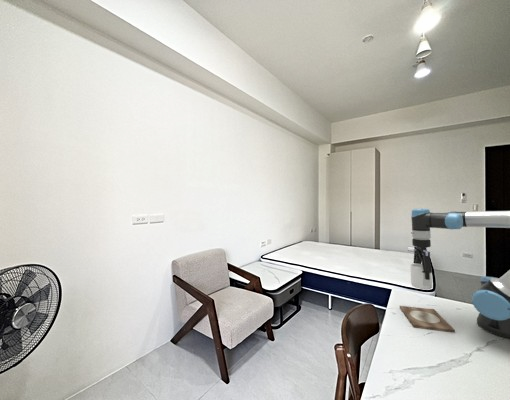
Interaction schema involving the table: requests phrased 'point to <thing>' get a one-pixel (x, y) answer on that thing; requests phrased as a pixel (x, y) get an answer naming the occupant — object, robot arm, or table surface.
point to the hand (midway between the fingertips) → (422, 281)
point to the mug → (419, 277)
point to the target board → (426, 319)
